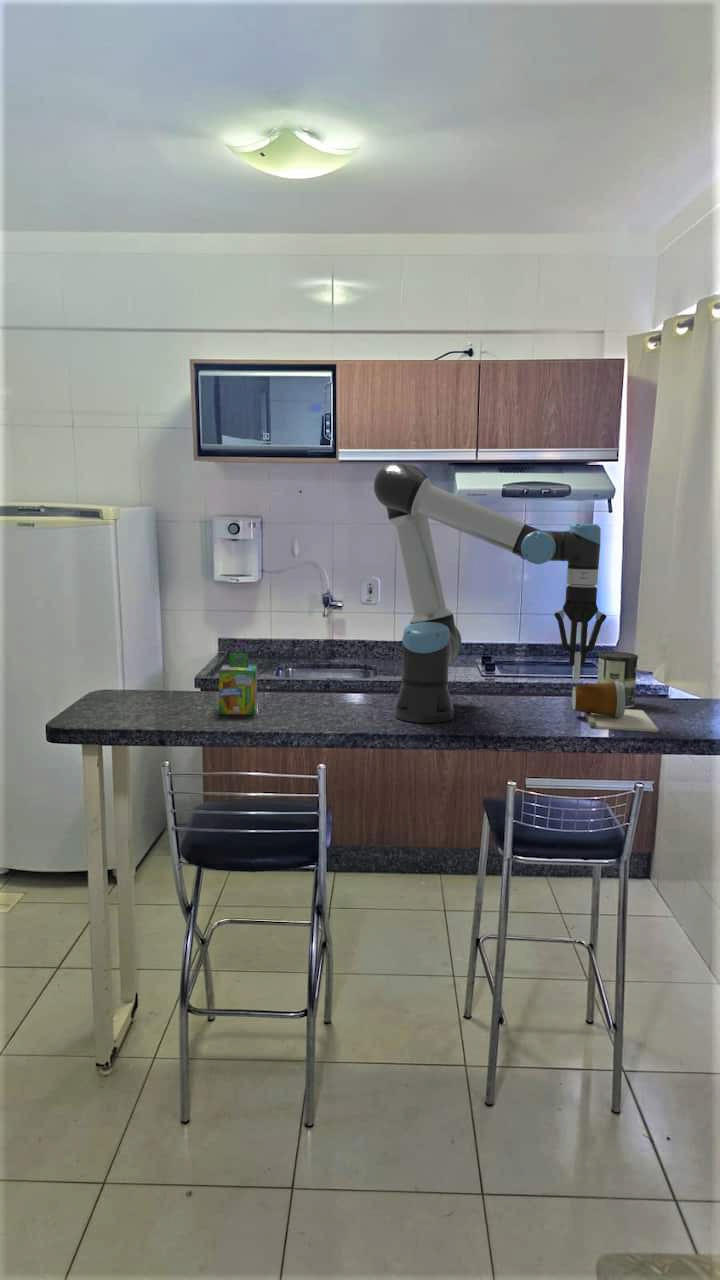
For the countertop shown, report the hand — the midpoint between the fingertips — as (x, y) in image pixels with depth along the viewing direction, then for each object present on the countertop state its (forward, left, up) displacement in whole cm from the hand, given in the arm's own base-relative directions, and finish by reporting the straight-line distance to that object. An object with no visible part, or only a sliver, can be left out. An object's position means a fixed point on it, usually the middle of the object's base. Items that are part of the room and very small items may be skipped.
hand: (575, 677), depth 204 cm
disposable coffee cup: (0, 0, -6) cm, 6 cm away
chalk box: (-85, -14, -11) cm, 87 cm away
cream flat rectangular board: (+11, 0, -10) cm, 15 cm away
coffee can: (+13, +18, -11) cm, 25 cm away
